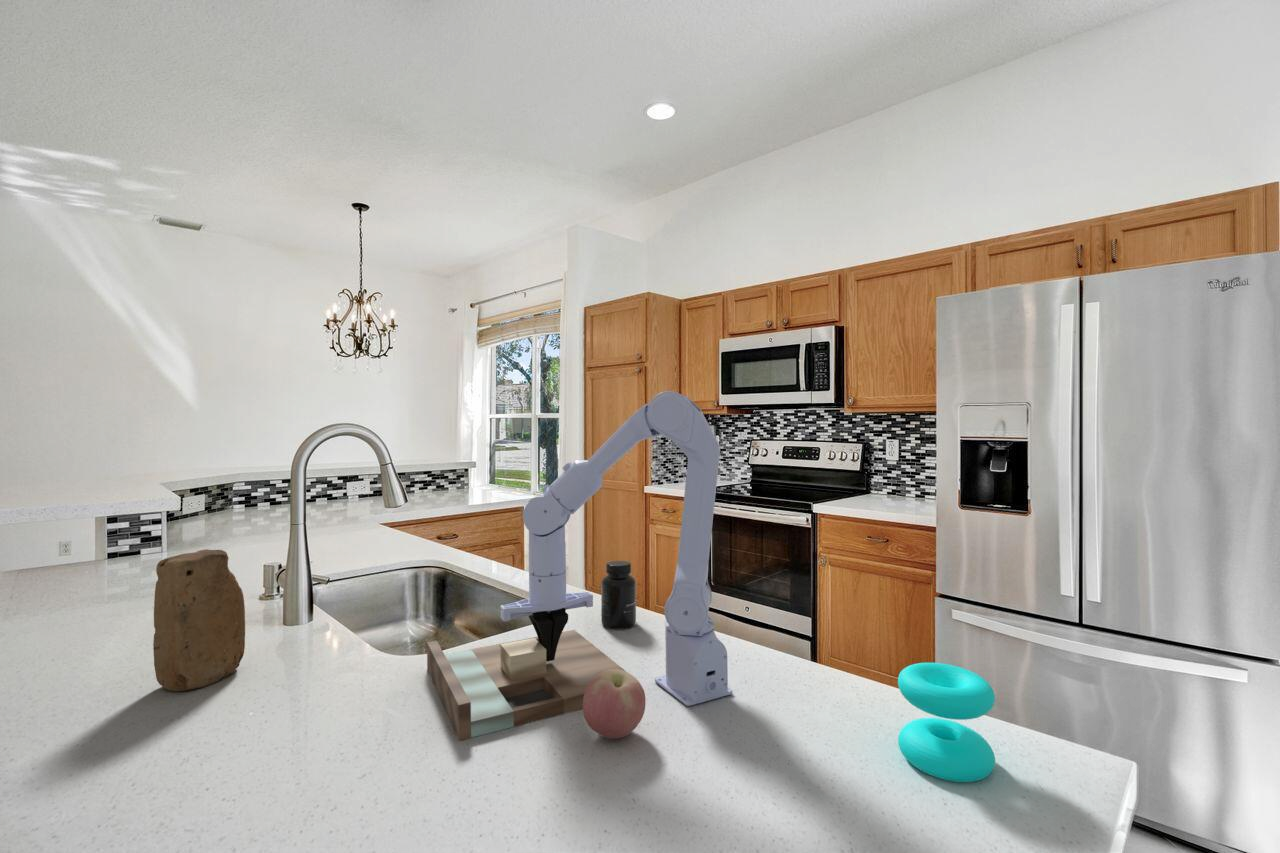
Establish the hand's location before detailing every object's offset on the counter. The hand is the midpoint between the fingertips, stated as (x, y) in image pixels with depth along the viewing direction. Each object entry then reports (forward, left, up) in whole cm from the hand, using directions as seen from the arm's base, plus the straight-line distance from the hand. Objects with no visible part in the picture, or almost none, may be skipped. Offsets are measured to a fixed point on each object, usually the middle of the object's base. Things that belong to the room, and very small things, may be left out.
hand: (548, 658), depth 93 cm
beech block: (0, +4, -1) cm, 4 cm away
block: (+26, +48, -3) cm, 55 cm away
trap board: (0, +3, -3) cm, 4 cm away
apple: (-21, -1, -3) cm, 21 cm away
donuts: (-45, -32, -3) cm, 55 cm away
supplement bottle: (+16, -20, -3) cm, 26 cm away
